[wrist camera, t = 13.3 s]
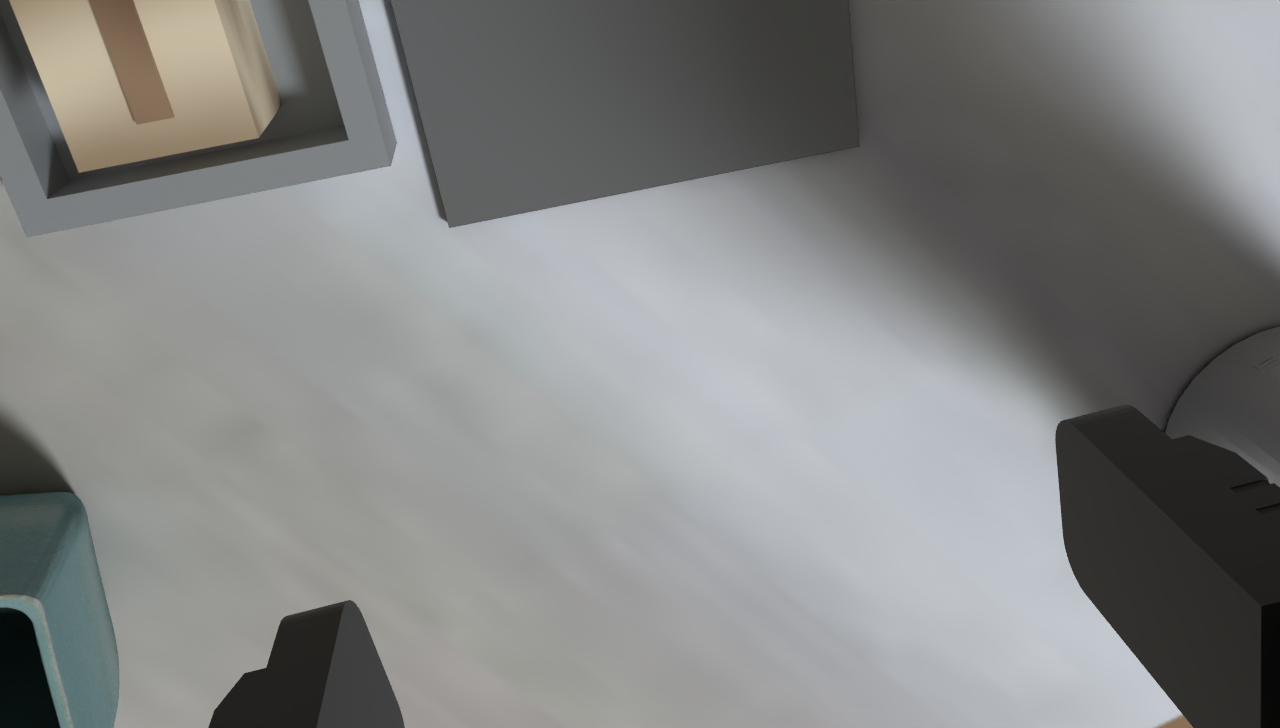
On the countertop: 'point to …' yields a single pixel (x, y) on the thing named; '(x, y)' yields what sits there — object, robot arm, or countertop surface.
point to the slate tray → (282, 156)
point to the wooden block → (149, 75)
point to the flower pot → (53, 618)
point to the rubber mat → (620, 93)
